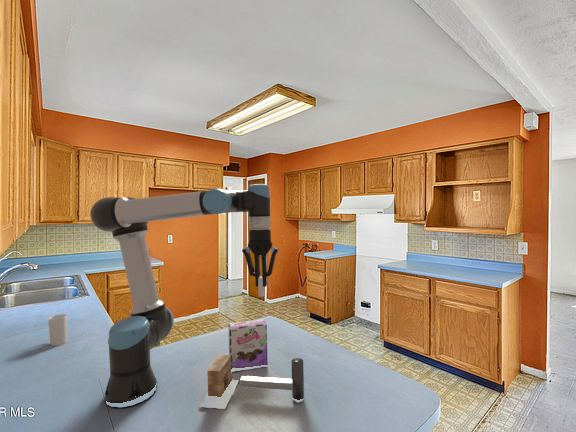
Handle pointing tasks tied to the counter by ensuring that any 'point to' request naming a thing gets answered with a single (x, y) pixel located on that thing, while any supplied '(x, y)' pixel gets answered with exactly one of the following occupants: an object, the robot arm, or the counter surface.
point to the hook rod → (280, 381)
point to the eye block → (219, 375)
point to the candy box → (248, 343)
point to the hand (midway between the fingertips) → (261, 295)
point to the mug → (58, 329)
